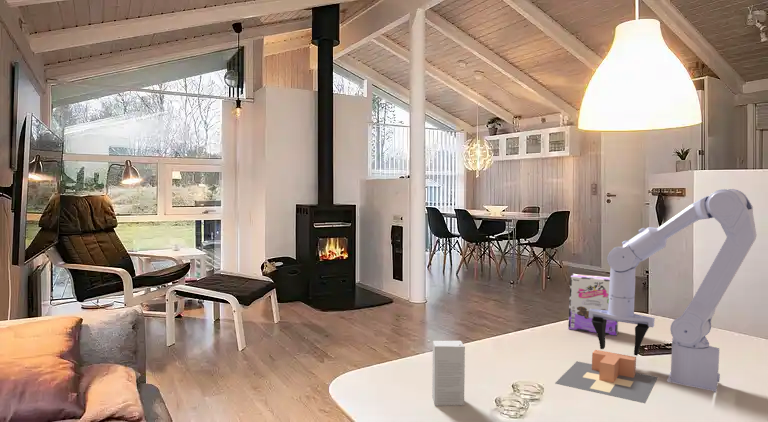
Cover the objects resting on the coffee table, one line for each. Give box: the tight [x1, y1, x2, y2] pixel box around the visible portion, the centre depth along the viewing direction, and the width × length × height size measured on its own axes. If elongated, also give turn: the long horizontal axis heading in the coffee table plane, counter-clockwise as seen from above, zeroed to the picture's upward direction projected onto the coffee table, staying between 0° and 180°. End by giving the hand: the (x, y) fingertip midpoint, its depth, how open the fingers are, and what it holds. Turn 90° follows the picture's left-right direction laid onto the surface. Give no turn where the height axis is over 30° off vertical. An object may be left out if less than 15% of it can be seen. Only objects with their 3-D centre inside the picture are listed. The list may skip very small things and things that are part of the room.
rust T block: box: [591, 349, 637, 383], centre depth 124 cm, size 9×9×4 cm
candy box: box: [567, 273, 619, 336], centre depth 164 cm, size 14×6×16 cm, turn 62°
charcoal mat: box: [554, 361, 658, 404], centre depth 121 cm, size 18×18×1 cm
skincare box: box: [431, 340, 466, 407], centre depth 109 cm, size 6×4×12 cm
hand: (619, 351), depth 132 cm, fingers open, 7 cm apart
